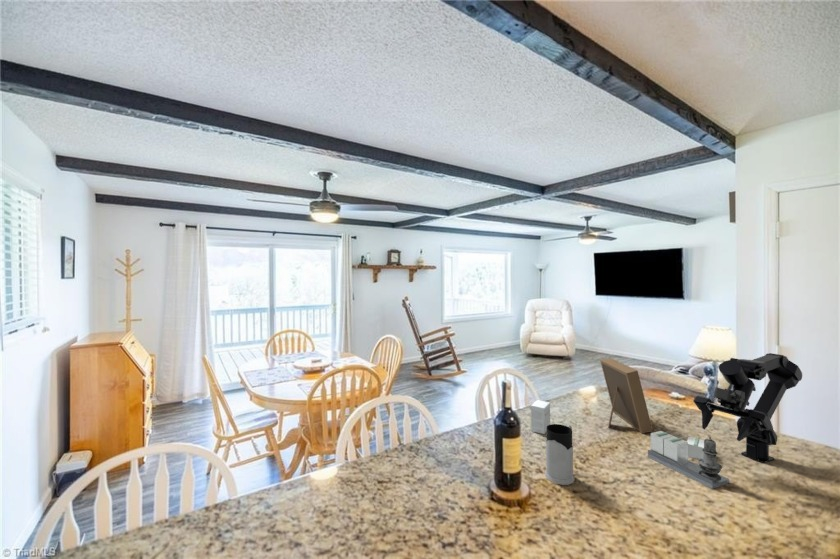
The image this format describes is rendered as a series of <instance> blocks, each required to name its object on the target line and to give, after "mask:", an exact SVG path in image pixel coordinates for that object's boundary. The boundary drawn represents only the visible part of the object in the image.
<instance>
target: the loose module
mask: <svg viewBox="0 0 840 559" xmlns="http://www.w3.org/2000/svg"><path fill="white" fill-rule="evenodd" d="M704 440H705V439H700V438H698V437H691V436H688V438H687V440H686V441H687V442H688V458H692V459H695V460H699V459H703V457H704V452H703V450H702V449H704Z"/></svg>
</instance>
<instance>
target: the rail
mask: <svg viewBox="0 0 840 559" xmlns="http://www.w3.org/2000/svg"><path fill="white" fill-rule="evenodd" d="M647 457H648V458H649V459H651V460H653V461H655V462H657V463H659V464H660V465H663V466H665V467H667V468H669V469H672V470H673V471H675V472H678V473H679V474H681V475H683V476H685V477H687V478H689V479H691V480H692V481H696V482H698V483H700V484H701V485H703V486H706V487H707V486H708V487H707V488H710V489H711V488H712V489H711V490H713V489H716V488H719V487H722V486H725V485H727V484H730V478H729V477H726V476H724V475H722V474H720V473H718V475H719V476H720V477H721V479H720V480H712V479H710V478H708V477H706V476H704V475H702V474H699V471H701V470H702V469H701V468H700V466H699V464H697V463H695V462H693V461H691V460H689V457H688V442H687V440H684V439H682V438H681V437H677V436H674V435H672V434H669V433H668V432H666V431H665V432H664V431H662V430H659V431H655V432H651V433H650V449H647Z"/></svg>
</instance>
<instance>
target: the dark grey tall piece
mask: <svg viewBox="0 0 840 559" xmlns="http://www.w3.org/2000/svg"><path fill="white" fill-rule="evenodd" d="M703 440H704V449H702V450H703V452H704V457H703V459H697V463H698V465H699V466H700V468H701V469H702V470H701V471H699V474H702V475H704V476H706V477H708V478H710V479H712V480H720V479H721V477H720V476H719V475H720V472H721V471H722V469H723V465H722V464H720V463H719V462H718V461H717V455H718V452H717V443H716V441H715V440H714V439H712V437H711V436H708V438H705V439H703ZM718 474H719V475H718Z"/></svg>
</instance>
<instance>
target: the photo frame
mask: <svg viewBox="0 0 840 559" xmlns="http://www.w3.org/2000/svg"><path fill="white" fill-rule="evenodd" d="M599 362H600V365H601V369H602V373H603V377H604V381H605V386H606V388H607V392H608V396H609V400H610V404H611V412H610V415H609V421H608V428H607V429H610V428H611V425H612V419H613V413H614V414H615V415H616V416H617V417H618V418H620V419H622V420H623V421H625V423H627V424H629V425H630V426H631V427H633V428H634V429H636V431H638V432H640V434H646V433H650V432H651V433H652V432H653V427H652V423H651V418H650V415H649V410H648V406H647V403H646V399H645V395H644V391H643V390H644V389H643V387H642V386H643V385H642V384H641V379H640V375H639V370H638V369H635V368H633V367H631V366H629V365H626V364H624V363H622V362H619V361H618V360H615V359H614V358H611V357H606V358H603V359H600V361H599Z"/></svg>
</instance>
